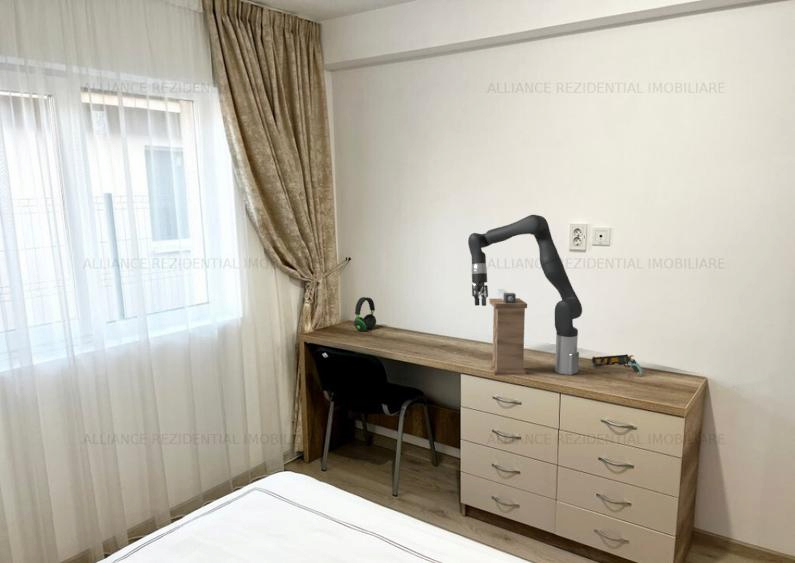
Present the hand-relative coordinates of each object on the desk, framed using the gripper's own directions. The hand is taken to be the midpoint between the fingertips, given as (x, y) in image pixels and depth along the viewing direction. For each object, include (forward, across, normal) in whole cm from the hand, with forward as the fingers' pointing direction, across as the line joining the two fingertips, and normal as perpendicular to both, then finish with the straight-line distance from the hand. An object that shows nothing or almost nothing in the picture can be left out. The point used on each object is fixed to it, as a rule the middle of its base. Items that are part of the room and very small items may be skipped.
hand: (480, 305), depth 276 cm
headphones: (+11, +20, +84) cm, 88 cm away
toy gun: (+33, +13, -60) cm, 69 cm away
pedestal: (+30, -11, -16) cm, 36 cm away
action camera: (-2, -11, -17) cm, 20 cm away
